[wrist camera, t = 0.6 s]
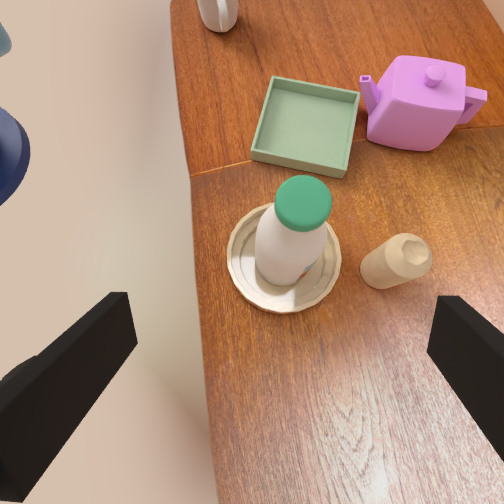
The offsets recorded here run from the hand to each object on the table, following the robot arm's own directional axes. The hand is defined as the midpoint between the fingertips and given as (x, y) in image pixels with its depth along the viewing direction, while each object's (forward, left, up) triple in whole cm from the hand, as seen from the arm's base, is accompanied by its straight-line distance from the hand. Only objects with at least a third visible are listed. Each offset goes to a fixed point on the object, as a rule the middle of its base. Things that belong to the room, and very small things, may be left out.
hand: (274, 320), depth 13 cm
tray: (0, +33, -28) cm, 44 cm away
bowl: (+1, +10, -28) cm, 30 cm away
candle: (+15, +12, -29) cm, 34 cm away
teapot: (+15, +38, -29) cm, 50 cm away
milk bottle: (+1, +10, -28) cm, 30 cm away
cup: (-20, +52, -29) cm, 63 cm away
